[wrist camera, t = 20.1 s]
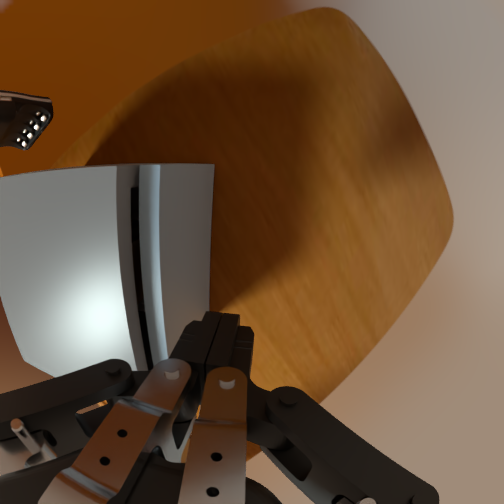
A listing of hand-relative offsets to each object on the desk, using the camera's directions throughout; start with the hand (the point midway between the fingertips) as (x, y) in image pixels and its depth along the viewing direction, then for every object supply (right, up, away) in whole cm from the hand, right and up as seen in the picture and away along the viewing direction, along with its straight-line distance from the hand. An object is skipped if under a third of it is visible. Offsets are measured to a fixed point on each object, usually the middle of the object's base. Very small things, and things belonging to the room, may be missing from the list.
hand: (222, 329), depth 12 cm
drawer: (-8, +4, +11) cm, 14 cm away
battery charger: (-22, +17, +9) cm, 30 cm away
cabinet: (-9, +5, +11) cm, 16 cm away
